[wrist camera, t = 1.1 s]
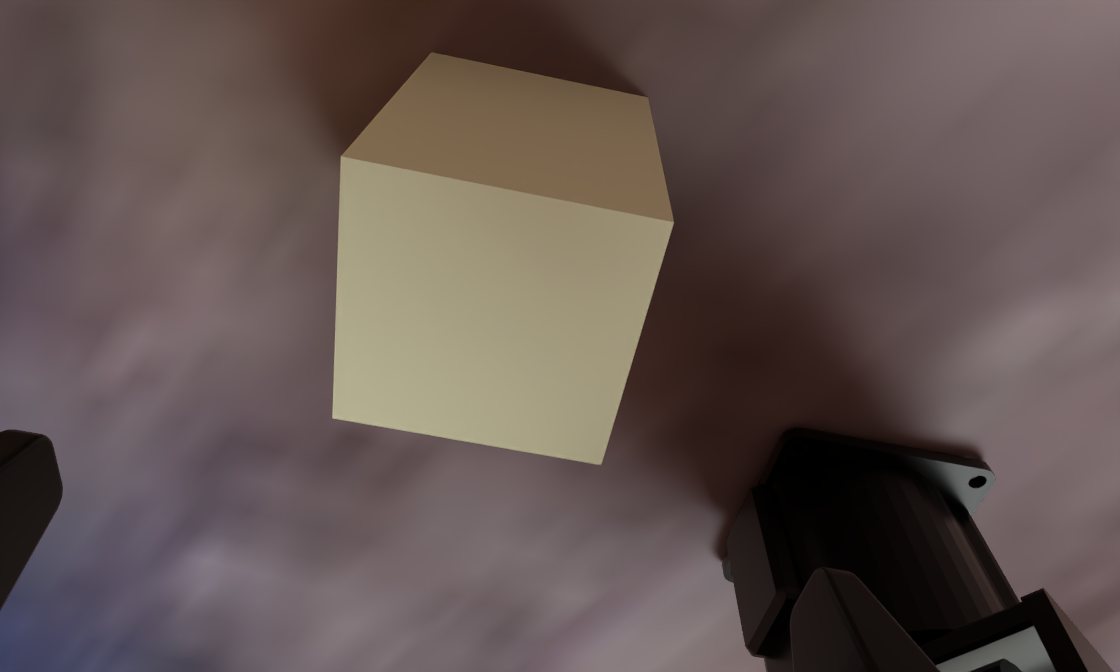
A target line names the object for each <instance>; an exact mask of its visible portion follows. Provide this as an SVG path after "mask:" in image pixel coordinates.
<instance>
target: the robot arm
mask: <svg viewBox="0 0 1120 672" xmlns="http://www.w3.org/2000/svg"><path fill="white" fill-rule="evenodd" d="M797 443H803V445H802V446H799V447H792V446H793V445H795V444H797ZM975 476H977V477H975ZM973 477H975V478H973ZM971 478H973V479H971ZM994 482H995V475H994V473H993V472H992V470H991V469H990V467H989V466H988V465H987V464H986V462H983V461H980V460H975V459H970V458H964V457H959V456H953V455H948V454H942V453H937V452H931V451H926V450H920V449H915V448H909V447H904V446H898V445H893V444H887V443H882V442H876V441H871V440H865V439H860V438H854V437H849V436H843V435H838V434H832V433H827V432H821V431H816V430H810V429H805V428H793V429H790V430H788V431H786V432H784V433H783V434H782V436H781V437H780V438H779V441H778V443H777V445H776V447H775V449H774V451H773V453H772V456H771V458H770V460H769V462H768V464H767V466H766V469H765V471H764V473H763V475H762V477H761V479H760V481H759V483H756V484H755V485H754V486H753V487H752V488H750V490H749V492H748V494H747V496H746V498H745V500H744V503H743V505H742V507H741V509H740V511H739V514H738V516H737V518H736V520H735V522H734V524H733V527H732V529H731V531H730V533H729V535H728V538H727V540H726V545H727V553H726V555H725V557H724V559H723V561H722V568H723V574H724V577H725V578H726V579H727V580H728V581H730V582H733V583H734V588H735V593H736V598H737V604H738V609H739V615H740V620H741V625H742V631H743V636H744V641H745V646H746V648H747V649H748V651H749V652H750V654H751V655H752V656H754V657H761V658H764V662H765V667H766V671H767V672H1114V671H1113V670H1112V669H1111V668H1110V667H1109V665H1108V664H1107V663H1106V662H1105V661H1104V659H1103V658H1102V657H1101V656H1100V655H1099V653H1098V652H1097V651H1096V650H1095V649H1094V647H1093V646H1092V645H1091V644H1090V643H1089V641H1088V640H1087V639H1086V638H1085V637H1084V635H1083V634H1082V633H1081V632H1080V631H1079V630H1078V628H1077V627H1076V626H1075V625H1074V624H1073V622H1072V621H1071V620H1070V619H1069V618H1068V616H1067V615H1066V614H1065V613H1064V612H1063V610H1062V609H1061V608H1060V607H1059V606H1058V604H1057V603H1056V602H1055V601H1054V600H1053V598H1052V597H1051V596H1050V595H1049V594H1048V592H1047V591H1046V590H1045V589H1044V588H1042V589H1040V590H1037V591H1035V592H1033V593H1030V594H1028V595H1025V596H1023V597H1021V600H1022V602H1019V600H1018V598H1017V597H1016V595H1015V593H1014V591H1013V589H1012V588H1011V586H1010V584H1009V582H1008V581H1007V579H1006V577H1005V575H1004V574H1003V572H1002V570H1001V568H1000V567H999V565H998V563H997V561H996V560H995V558H994V556H993V554H992V552H991V551H990V549H989V547H988V545H987V544H986V542H985V540H984V538H983V537H982V535H981V533H980V531H979V530H978V528H977V526H976V524H975V522H974V521H973V519H972V517H971V516H972V515H973V513H974V512H975V510H976V509H977V508H978V506H979V505H980V503H981V502H982V500H983V499H984V498H985V496H986V495H987V493H988V492H989V491H990V489H991V488H992V486H993V485H994ZM62 491H63V486H62V481H61V477H60V472H59V468H58V464H57V460H56V456H55V452H54V447H53V444H52V441H51V440H50V439H49V438H48V437H47V436H45V435H43V434H38V433H32V432H26V431H20V430H5V431H2V432H0V610H1V609H2V607H3V605H4V603H5V602H6V600H7V598H8V596H9V594H10V593H11V591H12V589H13V587H14V586H15V584H16V582H17V580H18V578H19V577H20V575H21V573H22V571H23V569H24V568H25V566H26V564H27V562H28V561H29V559H30V557H31V555H32V553H33V552H34V550H35V548H36V546H37V545H38V543H39V541H40V539H41V537H42V536H43V534H44V532H45V530H46V528H47V527H48V525H49V523H50V521H51V520H52V518H53V516H54V514H55V512H56V511H57V509H58V507H59V504H60V501H61V498H62Z"/></svg>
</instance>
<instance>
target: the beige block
mask: <svg viewBox="0 0 1120 672" xmlns="http://www.w3.org/2000/svg"><path fill="white" fill-rule="evenodd" d="M673 224H674V220H673V215H672V210H671V206H670V201H669V196H668V191H667V186H666V182H665V177H664V172H663V167H662V162H661V158H660V153H659V148H658V143H657V138H656V134H655V129H654V124H653V119H652V114H651V110H650V105H649V100H648V97H644V96H639V95H634V94H629V93H624V92H620V91H615V90H610V89H605V88H601V87H596V86H591V85H586V84H581V83H577V82H572V81H567V80H562V79H557V78H553V77H548V76H543V75H538V74H534V73H529V72H524V71H519V70H514V69H510V68H505V67H500V66H495V65H491V64H486V63H481V62H476V61H471V60H467V59H462V58H457V57H452V56H448V55H443V54H438V53H433V52H431V53H430V54H429V55H428V57H427V58H426V59H425V60H424V61H423V62H422V64H421V65H420V66H419V67H418V68H417V69H416V70H415V72H414V73H413V74H412V75H411V76H410V77H409V79H408V80H407V81H406V82H405V83H404V84H403V85H402V87H401V88H400V89H399V90H398V91H397V92H396V93H395V95H394V96H393V97H392V98H391V99H390V100H389V102H388V103H387V104H386V105H385V106H384V107H383V108H382V110H381V111H380V112H379V113H378V114H377V115H376V117H375V118H374V119H373V120H372V121H371V122H370V123H369V125H368V126H367V127H366V128H365V129H364V130H363V131H362V133H361V134H360V135H359V136H358V137H357V138H356V140H355V141H354V142H353V143H352V144H351V145H350V146H349V148H348V149H347V150H346V151H345V152H344V153H343V155H342V156H341V169H340V200H339V231H338V262H337V293H336V324H335V356H334V387H333V418H335V419H340V420H346V421H352V422H357V423H363V424H369V425H375V426H380V427H386V428H392V429H398V430H403V431H409V432H415V433H420V434H426V435H432V436H438V437H443V438H449V439H455V440H460V441H466V442H472V443H478V444H483V445H489V446H495V447H501V448H506V449H512V450H518V451H523V452H529V453H535V454H541V455H546V456H552V457H558V458H564V459H569V460H575V461H581V462H586V463H592V464H598V465H601V464H602V461H603V457H604V454H605V451H606V447H607V444H608V441H609V437H610V434H611V431H612V427H613V424H614V421H615V417H616V414H617V411H618V407H619V404H620V401H621V397H622V394H623V391H624V387H625V384H626V381H627V377H628V374H629V371H630V367H631V364H632V361H633V357H634V354H635V351H636V347H637V344H638V341H639V337H640V334H641V331H642V327H643V324H644V321H645V317H646V314H647V311H648V307H649V304H650V301H651V297H652V294H653V291H654V287H655V284H656V281H657V277H658V274H659V271H660V267H661V264H662V261H663V257H664V254H665V251H666V247H667V244H668V241H669V237H670V234H671V231H672V227H673Z"/></svg>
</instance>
